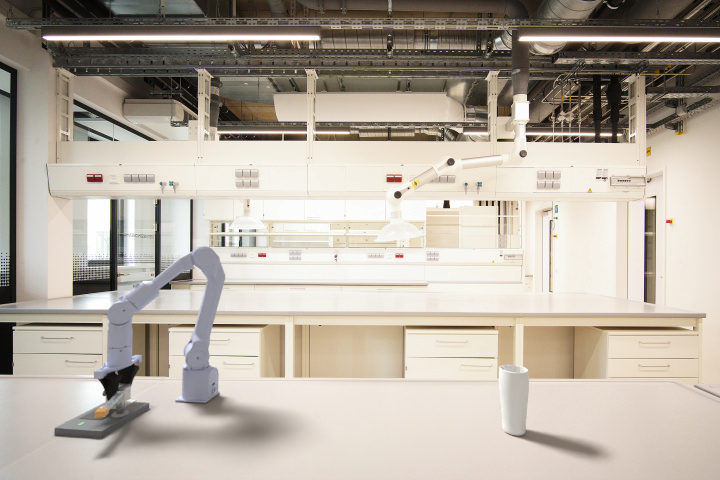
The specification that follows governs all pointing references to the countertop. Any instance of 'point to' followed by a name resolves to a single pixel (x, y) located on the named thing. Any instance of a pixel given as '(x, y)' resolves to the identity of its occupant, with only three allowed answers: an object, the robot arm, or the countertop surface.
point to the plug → (121, 386)
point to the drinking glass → (514, 398)
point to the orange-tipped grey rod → (120, 404)
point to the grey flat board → (100, 421)
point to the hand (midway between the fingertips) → (118, 397)
